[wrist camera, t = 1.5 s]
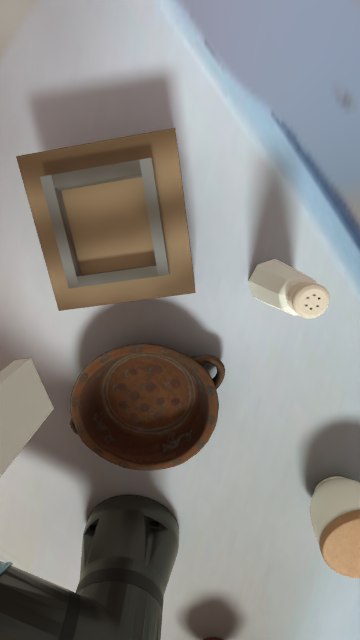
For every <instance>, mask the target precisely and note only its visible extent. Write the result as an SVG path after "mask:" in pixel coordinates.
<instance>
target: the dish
mask: <svg viewBox="0 0 360 640" xmlns="http://www.w3.org/2000/svg"><path fill="white" fill-rule="evenodd" d="M205 363H211V364H213V365H215V366H216V368H217V374H216V375H215V377H214V378H213V379H212V378H211V376H210V374H209V373H208V371H207V370H206V369H204V368H203V367H202V365H203V364H205ZM224 375H225V368H224V365H223V363H222V362H221V361H220V360H219V359H218V358H216V357H214V356H212V355H200V356H195V357H189V356H187V355H185V354H183V353H181V352H178V351H176V350H174V349H171V348H167V347H164V346H161V345H154V344H133V345H127V346H123V347H119V348H116V349H113V350H110V351H108V352H106V353H104V354H102V355H101V356H99V357H97V358H96V359H94V360H93V361H92V362H91V363H90V364H89V365H88V366H87V367H86V368H85V369H84V370H83V371H82V373H81V374H80V375H79V377H78V379H77V381H76V384H75V386H74V388H73V391H72V395H71V402H70V407H71V414H72V418H71V422H70V425H71V428H72V429H73V431H74V432H75V433H76V434H78V435H79V436H80V438H81V439H82V441H83V442H84V443H85V444H86V445H87V446H88V447H89V448H90V449H91V450H92V451H94V452H95V453H96V454H98V455H99V456H100V457H102V458H104V459H105V460H107V461H109V462H111V463H114V464H116V465H119V466H122V467H124V468H129V469H135V470H158V469H166V468H170V467H175V466H177V465H180V464H182V463H184V462H186V461H187V460H188V459H190V458H191V457H192V456H194V455H196V454H197V453H198V452H199V451H200V450H201V449H202V448H203V447H204V445H205V444H206V443H207V442H208V440H209V438H210V437H211V435H212V433H213V431H214V429H215V426H216V422H217V417H218V409H219V403H218V395H217V391H216V389H217V388H218V387H219V386H220V384H221V383H222V381H223V379H224Z"/></svg>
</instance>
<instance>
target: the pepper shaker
mask: <svg viewBox="0 0 360 640" xmlns="http://www.w3.org/2000/svg"><path fill="white" fill-rule="evenodd" d="M249 284H250V288H251V292H252V295H253V297H254V298H256V299H258V300H260V301H262V302H264V303H266V304H268V305H270V306H273V307H275V308H277V309H280V310H282V311H284V312H287V313H289V314H292V315H295V316H296V315H299V316H301V317H303V318H315V317H318V316H319V315H321V314H322V313H323V312H324V311H325V310H326V309H327V307H328V305H329V300H330V297H329V293H328V291H327V290H326V289H325V288H324V287H323V286H321V285H319V284H318V282H317V281H316V280H314V279H312V278H311V277H309V276H307V275H305V274H303V273H302V272H300V271H298V270H296V269H294V268H293V267H291V266H289V265H287V264H285V263H283V262H281V261H279V260H277V259H272V260H269V261H266V262H263V263H260V264H258V265H257V266H256V268H255V270H254V272H253V274H252V275H251V277H250V279H249Z"/></svg>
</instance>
